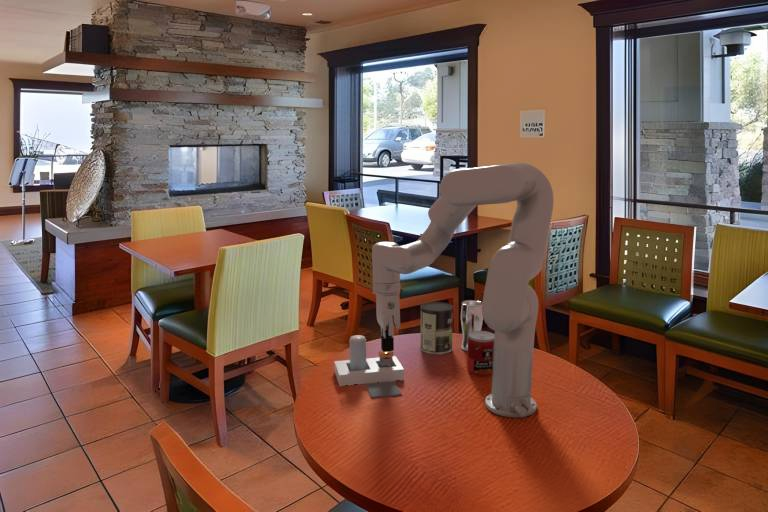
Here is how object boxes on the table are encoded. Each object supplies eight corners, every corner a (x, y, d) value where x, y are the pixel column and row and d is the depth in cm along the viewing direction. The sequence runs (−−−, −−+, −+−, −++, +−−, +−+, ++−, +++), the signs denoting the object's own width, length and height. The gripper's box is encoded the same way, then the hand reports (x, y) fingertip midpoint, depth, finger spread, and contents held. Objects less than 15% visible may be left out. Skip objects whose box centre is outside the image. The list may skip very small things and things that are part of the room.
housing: (404, 380, 157) (404, 369, 156) (339, 386, 153) (339, 375, 152) (395, 366, 166) (395, 356, 166) (334, 371, 162) (334, 361, 162)
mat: (401, 395, 147) (401, 393, 147) (371, 398, 146) (371, 396, 146) (394, 382, 155) (394, 381, 155) (365, 385, 153) (365, 384, 153)
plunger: (394, 374, 159) (395, 354, 158) (380, 376, 158) (380, 355, 157) (391, 369, 163) (391, 349, 162) (377, 370, 162) (377, 350, 161)
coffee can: (453, 344, 184) (454, 302, 181) (450, 355, 174) (451, 312, 171) (422, 342, 186) (422, 300, 183) (417, 353, 176) (418, 310, 173)
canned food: (474, 378, 158) (475, 341, 155) (462, 367, 165) (463, 331, 163) (499, 375, 160) (500, 338, 158) (486, 364, 167) (488, 329, 165)
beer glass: (455, 346, 182) (456, 301, 179) (473, 343, 185) (475, 298, 182) (467, 353, 176) (469, 307, 173) (486, 350, 179) (488, 304, 176)
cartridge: (367, 379, 157) (367, 339, 155) (351, 381, 156) (351, 341, 154) (364, 372, 161) (364, 334, 159) (348, 374, 160) (348, 335, 158)
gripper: (406, 292, 149) (407, 358, 152) (393, 280, 163) (394, 340, 167) (378, 294, 147) (380, 361, 151) (367, 281, 162) (369, 342, 165)
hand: (387, 350), depth 159 cm, fingers closed
